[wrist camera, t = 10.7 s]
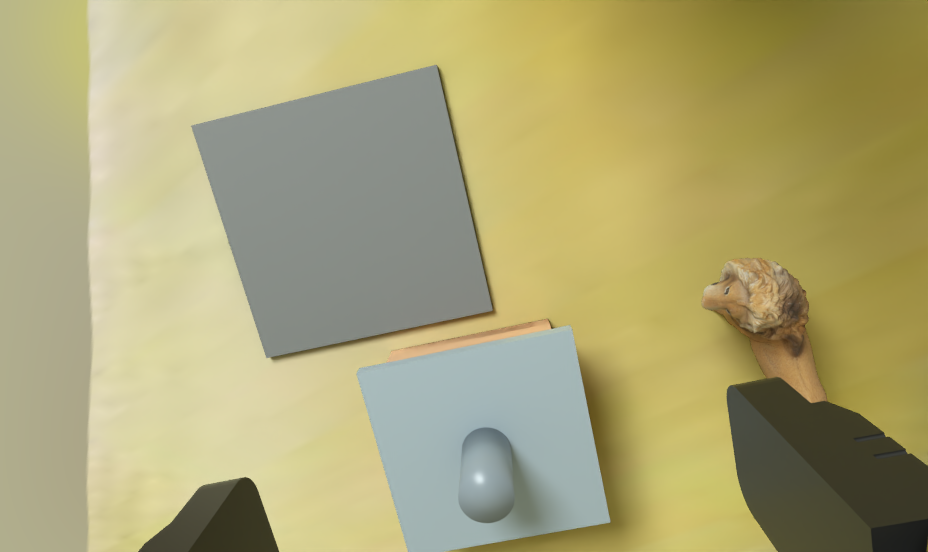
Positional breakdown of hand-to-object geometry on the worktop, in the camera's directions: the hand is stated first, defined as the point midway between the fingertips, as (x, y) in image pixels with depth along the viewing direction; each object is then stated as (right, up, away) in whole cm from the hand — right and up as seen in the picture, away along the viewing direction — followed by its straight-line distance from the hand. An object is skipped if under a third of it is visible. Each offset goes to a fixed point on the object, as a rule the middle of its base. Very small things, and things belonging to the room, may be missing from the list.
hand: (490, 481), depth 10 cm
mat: (-8, +7, +30) cm, 31 cm away
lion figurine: (+18, 0, +31) cm, 36 cm away
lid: (+1, -7, +28) cm, 28 cm away
